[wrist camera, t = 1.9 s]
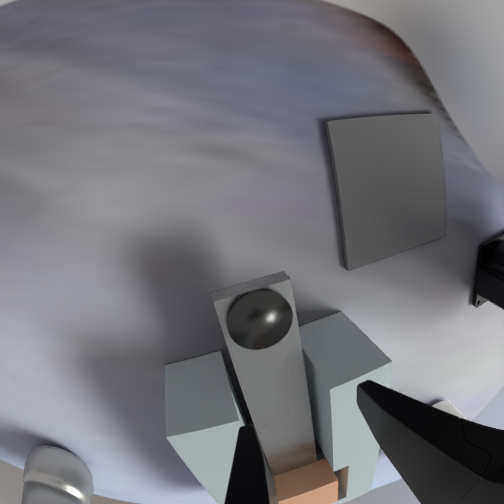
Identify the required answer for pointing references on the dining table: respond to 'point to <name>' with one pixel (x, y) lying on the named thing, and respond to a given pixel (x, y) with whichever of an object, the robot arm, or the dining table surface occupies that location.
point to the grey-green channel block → (320, 396)
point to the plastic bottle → (56, 478)
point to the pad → (387, 184)
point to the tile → (308, 485)
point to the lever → (270, 366)
